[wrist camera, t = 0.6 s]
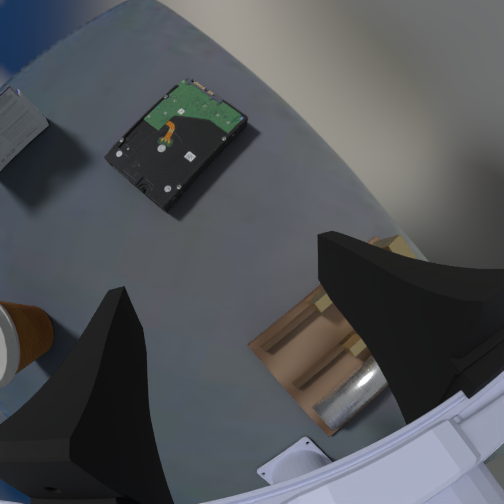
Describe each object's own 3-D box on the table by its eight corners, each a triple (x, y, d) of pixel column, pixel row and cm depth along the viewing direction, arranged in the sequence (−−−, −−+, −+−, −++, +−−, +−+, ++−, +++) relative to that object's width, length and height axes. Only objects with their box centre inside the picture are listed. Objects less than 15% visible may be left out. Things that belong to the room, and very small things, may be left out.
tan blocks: (406, 290, 37) (436, 291, 30) (344, 351, 35) (367, 363, 29) (372, 241, 37) (399, 233, 31) (305, 301, 36) (323, 304, 29)
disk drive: (168, 215, 37) (248, 126, 38) (164, 210, 34) (250, 115, 36) (109, 165, 36) (187, 84, 38) (102, 157, 34) (186, 73, 35)
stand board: (434, 330, 38) (444, 331, 36) (326, 433, 35) (332, 440, 33) (373, 236, 38) (381, 234, 36) (247, 344, 35) (249, 348, 33)
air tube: (404, 313, 37) (422, 315, 32) (419, 336, 36) (438, 341, 32) (307, 401, 35) (317, 414, 30) (327, 422, 34) (338, 436, 30)
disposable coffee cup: (75, 320, 34) (22, 333, 22) (50, 380, 32) (-2, 409, 20) (22, 278, 33) (-37, 275, 21) (0, 338, 32) (-57, 351, 20)
